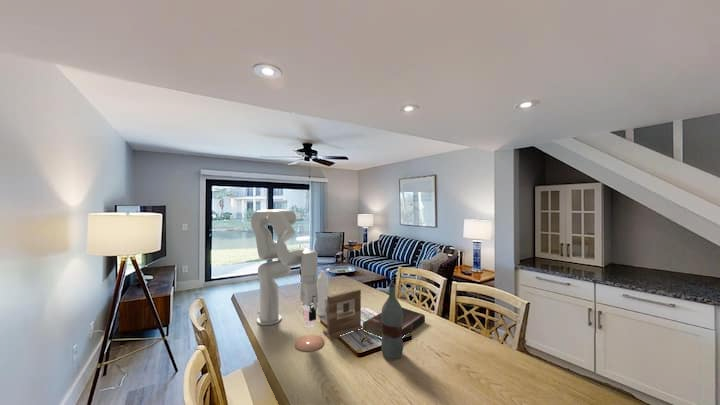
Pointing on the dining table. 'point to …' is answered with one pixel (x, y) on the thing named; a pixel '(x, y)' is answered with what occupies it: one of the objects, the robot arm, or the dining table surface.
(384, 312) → the vodka
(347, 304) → the mount stand
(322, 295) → the water bottle
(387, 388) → the dining table surface
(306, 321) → the beverage cup
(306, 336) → the peach round disc
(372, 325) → the hardback book
